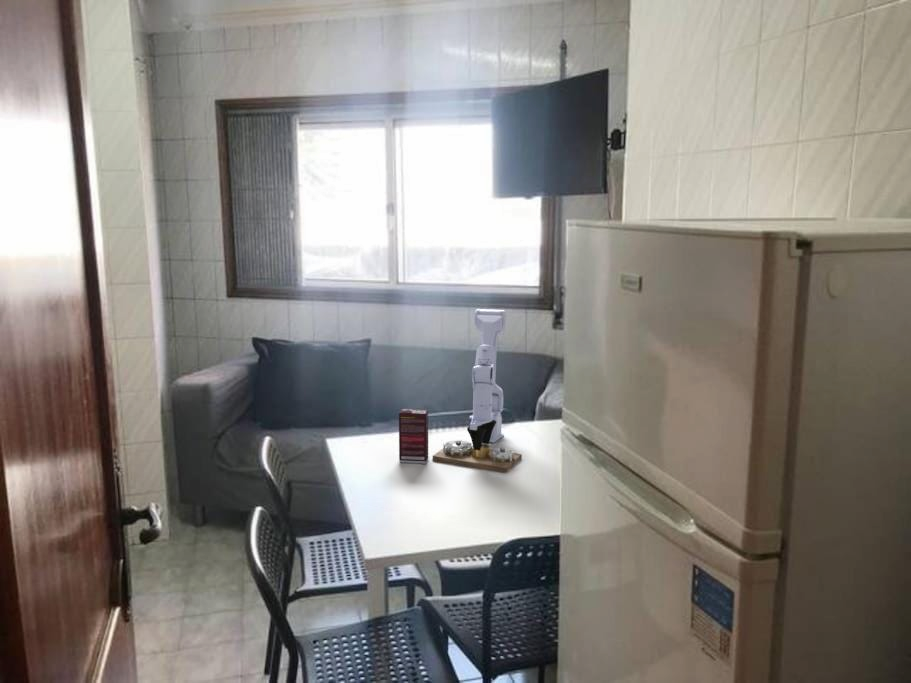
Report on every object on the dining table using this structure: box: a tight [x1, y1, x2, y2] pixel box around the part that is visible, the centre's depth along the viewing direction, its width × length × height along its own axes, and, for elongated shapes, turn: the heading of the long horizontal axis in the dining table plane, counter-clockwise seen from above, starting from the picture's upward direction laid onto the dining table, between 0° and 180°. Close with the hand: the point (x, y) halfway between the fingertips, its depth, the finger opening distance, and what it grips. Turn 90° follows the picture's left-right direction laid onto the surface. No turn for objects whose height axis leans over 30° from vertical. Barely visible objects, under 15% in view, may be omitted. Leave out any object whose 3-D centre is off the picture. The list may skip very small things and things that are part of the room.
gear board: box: [432, 439, 522, 474], centre depth 233 cm, size 14×24×5 cm, turn 66°
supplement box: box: [398, 408, 429, 465], centre depth 230 cm, size 9×5×16 cm, turn 84°
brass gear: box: [472, 443, 491, 458], centre depth 232 cm, size 6×6×3 cm
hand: (481, 446), depth 232 cm, fingers open, 6 cm apart
